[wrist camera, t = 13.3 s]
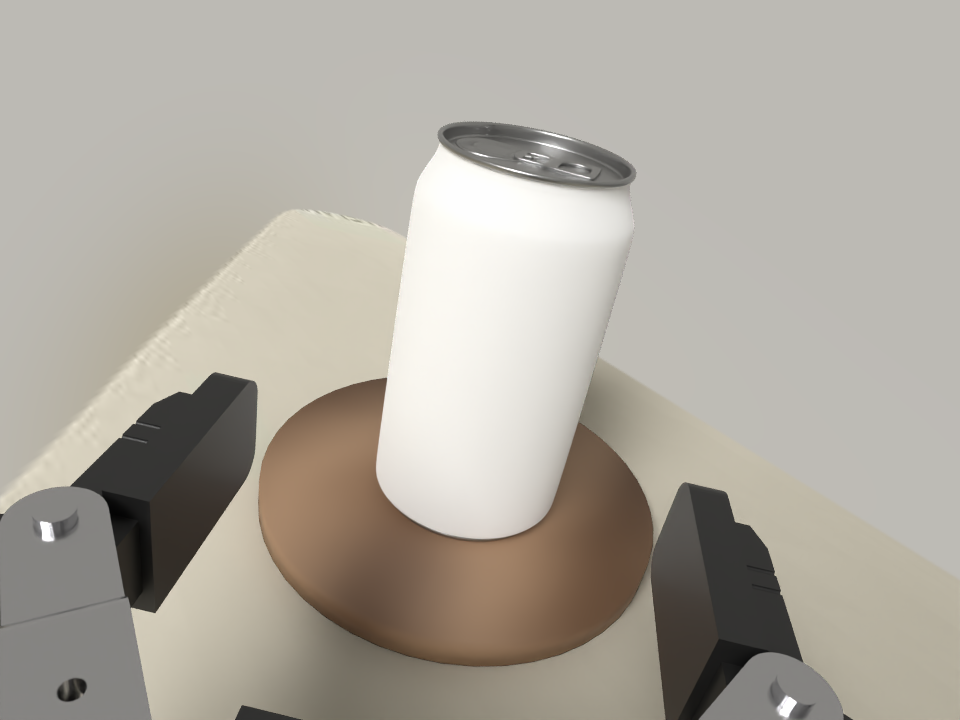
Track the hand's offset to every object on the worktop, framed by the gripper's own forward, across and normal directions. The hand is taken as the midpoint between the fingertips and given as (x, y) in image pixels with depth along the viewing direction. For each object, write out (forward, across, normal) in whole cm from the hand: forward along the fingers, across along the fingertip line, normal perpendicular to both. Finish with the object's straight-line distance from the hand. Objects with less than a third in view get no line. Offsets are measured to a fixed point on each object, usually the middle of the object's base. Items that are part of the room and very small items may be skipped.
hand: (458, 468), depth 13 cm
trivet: (+10, 0, +9) cm, 13 cm away
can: (+10, 0, +8) cm, 13 cm away
